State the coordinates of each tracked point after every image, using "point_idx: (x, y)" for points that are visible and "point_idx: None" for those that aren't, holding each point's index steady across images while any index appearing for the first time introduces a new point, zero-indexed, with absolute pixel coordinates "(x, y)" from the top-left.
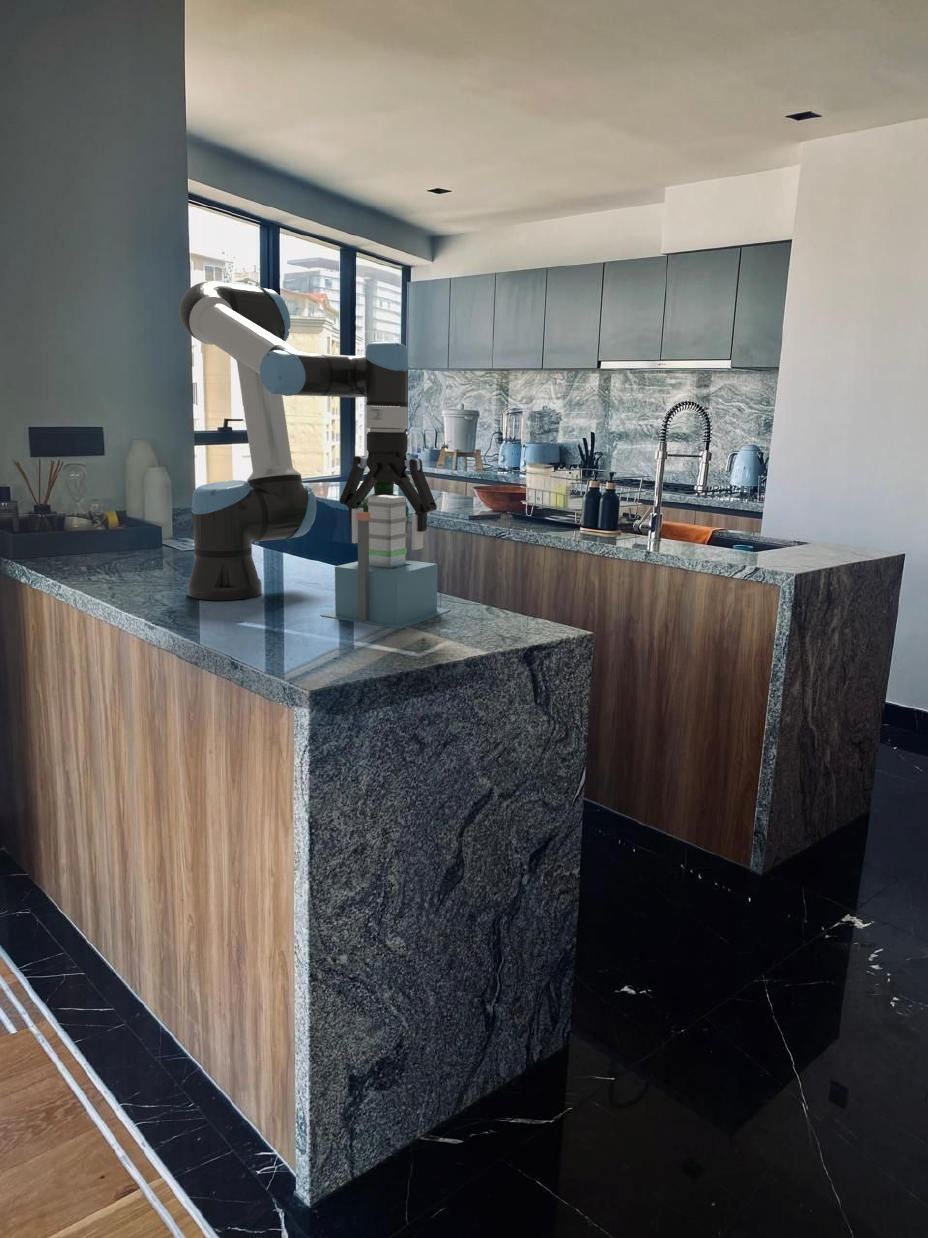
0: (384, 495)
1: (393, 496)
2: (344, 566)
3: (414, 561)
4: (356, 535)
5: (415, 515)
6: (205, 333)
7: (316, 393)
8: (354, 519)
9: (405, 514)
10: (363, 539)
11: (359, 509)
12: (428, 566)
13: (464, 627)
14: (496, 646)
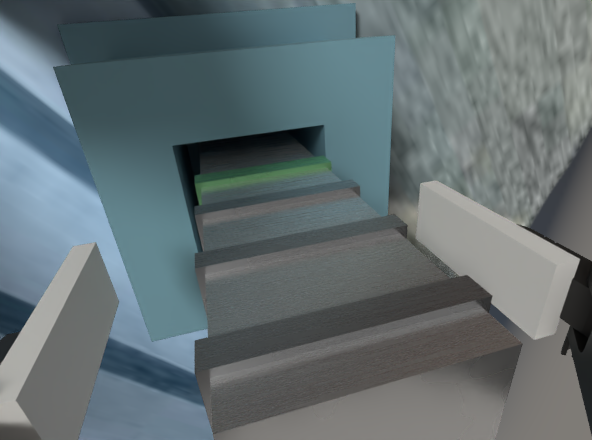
0: None
1: (415, 428)
2: (173, 320)
3: (286, 54)
4: (108, 317)
5: (549, 330)
6: None
7: None
8: (83, 403)
9: (411, 244)
10: None
11: (42, 429)
12: (391, 111)
13: (438, 113)
14: (528, 188)
